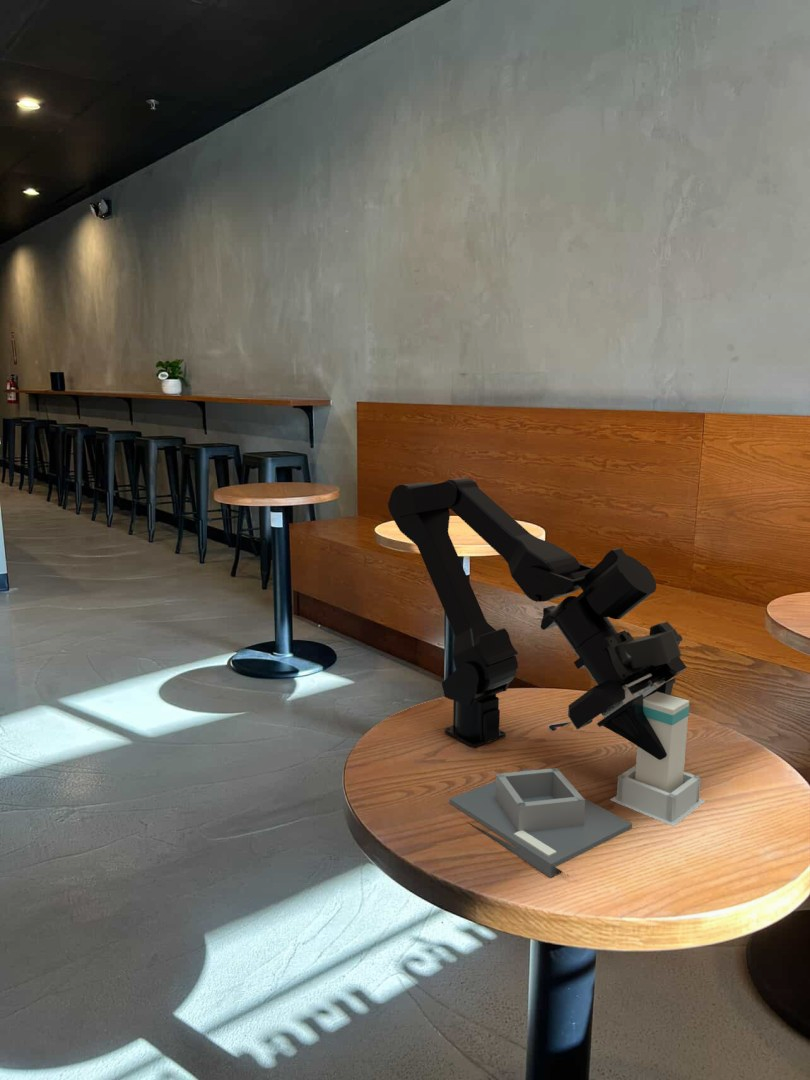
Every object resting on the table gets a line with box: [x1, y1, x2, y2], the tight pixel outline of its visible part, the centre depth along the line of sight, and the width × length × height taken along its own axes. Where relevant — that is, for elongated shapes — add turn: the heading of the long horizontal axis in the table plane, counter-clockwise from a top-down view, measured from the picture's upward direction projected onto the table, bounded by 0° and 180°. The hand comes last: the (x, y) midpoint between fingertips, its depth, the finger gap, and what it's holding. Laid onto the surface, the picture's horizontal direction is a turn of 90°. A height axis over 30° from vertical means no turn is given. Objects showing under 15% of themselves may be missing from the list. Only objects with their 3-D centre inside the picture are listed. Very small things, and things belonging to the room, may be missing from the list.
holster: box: [609, 764, 706, 827], centre depth 91 cm, size 8×8×4 cm
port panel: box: [448, 767, 633, 878], centre depth 87 cm, size 16×13×4 cm
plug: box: [635, 692, 690, 793], centre depth 90 cm, size 4×4×12 cm
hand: (672, 752), depth 89 cm, fingers closed on plug, 4 cm apart
